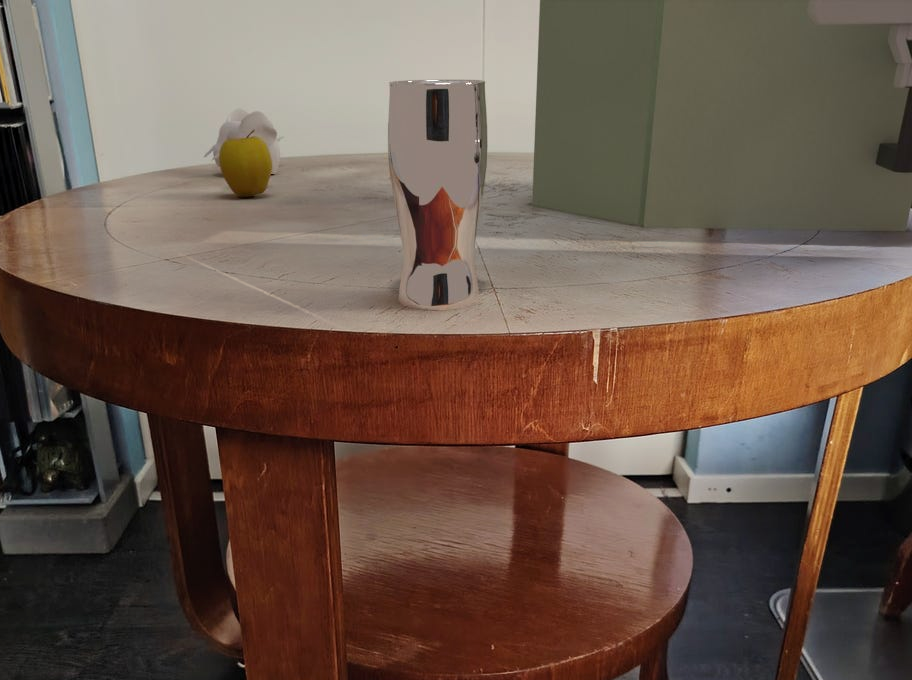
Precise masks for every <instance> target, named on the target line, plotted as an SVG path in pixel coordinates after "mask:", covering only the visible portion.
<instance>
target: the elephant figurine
mask: <svg viewBox="0 0 912 680" xmlns="http://www.w3.org/2000/svg"><path fill="white" fill-rule="evenodd" d="M253 130H254V132H253V133H252V134H251V135H250V136H249V138H250V137H253V136H255V137H259V138H260V139H262V140H263V141H264V142H265V144H266V145H267V147H268V150H269V153H270V156H271V160H272V172H271V174H274V175H276V174H277V172H278V169H279V167H280V162H281V151H280V146H279V143H278V142H279V141H281V140H282V139H284V138H285V136H284V135H281V136H278V132H277V129H276V128H275V127H274V124H273V122H272V121H271V119H270V118H269V117H268V116H267V115H265V114H264V113H263V112H262V111H258V110H255V111H252V112H251V113H249V112H248V111H247V110H245V109H243V108H241V107H240V108H235V109H233V110H231V111H230V112H229V113H228V114H227V117H226V121H225V122H223V124H222V125H221V126H220V128H219V131H218V137H217V140H216V143H215V144H214V145H213V146H212V147H211V148H210V149H209V150H208V151H206V153H205V154H204V156H203V158H207V157H208V156H209V155H211V153H212V155H213V157H212V158H211V162H212V161H214V162H215V164H216V166H218V167H219V168H220V163H219V153H220V148H221V146H222V144H223V143H224V142H225V141H226V140H228V139H231V138H233V139H241V138H246V137H247V136H248V135H249V134H250V133H251V132H252V131H253Z"/></svg>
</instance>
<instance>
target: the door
mask: <svg viewBox="0 0 912 680" xmlns="http://www.w3.org/2000/svg"><path fill="white" fill-rule="evenodd" d="M807 5H808V0H664V10H663V21H662V32H661V42H660V53H659V64H658V74H657V85H656V96H655V106H654V117H653V128H652V138H651V149H650V160H649V171H648V181H647V192H646V203H645V213H644V224H643V225H642V226H643V228H645V229H646V228H647V229H650V228H651V229H653V228H654V229H705V230H707V229H713V230H714V229H715V230H716V229H717V230H779V231H780V230H781V231H783V230H786V231H788V230H789V231H843V232H844V231H850V232H851V231H853V232H855V231H857V232H858V231H859V232H906V230H907V226H908V221H909V216H910V213H911V207H912V88H895V87H894V79H895V74H896V69H897V64H898V63H896V62H895V59H894V57H893V54H892V51H891V48H890V46H889V43H888V35H889V30H890V25H891V24H860V25H814V24H813V23H812V21H811V20H810V18H809V17H808V15H807ZM906 42H907V46H908V49H909V52H910V55H911V58H912V40H906Z"/></svg>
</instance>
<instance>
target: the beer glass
mask: <svg viewBox="0 0 912 680" xmlns="http://www.w3.org/2000/svg"><path fill="white" fill-rule="evenodd" d="M387 109H388V111H387V113H388V114H387V155H388V156H387V158H388V170H389V177H390V184H391V190H392V195H393V202H394V205H395V206H394V207H395V212H396V217H397V221H398V226H399V232H400V238H401V247H402V248H401V250H402V267H401V268H402V269H401V277H400V284H399V290H398V302H399V304H400V305H402V306H404V307H407V308H410V309H414V310H422V311H438V312H439V311H453V310H454V311H455V310H461V309H466V308H469V307H472V306H475V305H477V304H478V303H479V302H480V290H479V284H478V278H477V272H476V264H475V261H476V260H475V248H476V247H475V246H476V238H477V237H476V236H477V231H478V223H479V218H480V213H481V207H482V201H483V197H484V196H483V195H484V191H485V190H484V189H485V182H486V174H487V166H488V148H489V147H488V146H489V145H488V119H487V118H488V113H487V101H486V81H485V80H481V79H409V80H393V81H390V82H388V108H387Z"/></svg>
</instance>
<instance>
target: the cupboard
mask: <svg viewBox="0 0 912 680" xmlns="http://www.w3.org/2000/svg"><path fill="white" fill-rule="evenodd" d="M663 10H664V0H539V12H538V14H539V15H538V42H537V63H536V64H537V66H536V67H537V68H536V69H537V71H536V90H535V92H536V93H535V95H536V96H535V120H534V141H533V142H534V143H533V144H534V146H533V171H532V172H533V173H532V195H531V196H532V197H531V198H532V199H531V205H532V206H534V207H539V208H546V209H550V210H554V211H560V212H564V213H565V212H566V213H571V214H575V215H580V216H581V215H582V216H586V217H590V218H596V219H602V220H607V221H613V222H618V223H621V224H628V225H633V226H643V224H644V213H645V203H646V192H647V181H648V171H649V160H650V149H651V138H652V128H653V117H654V106H655V96H656V85H657V74H658V64H659V53H660V42H661V32H662V21H663Z"/></svg>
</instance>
